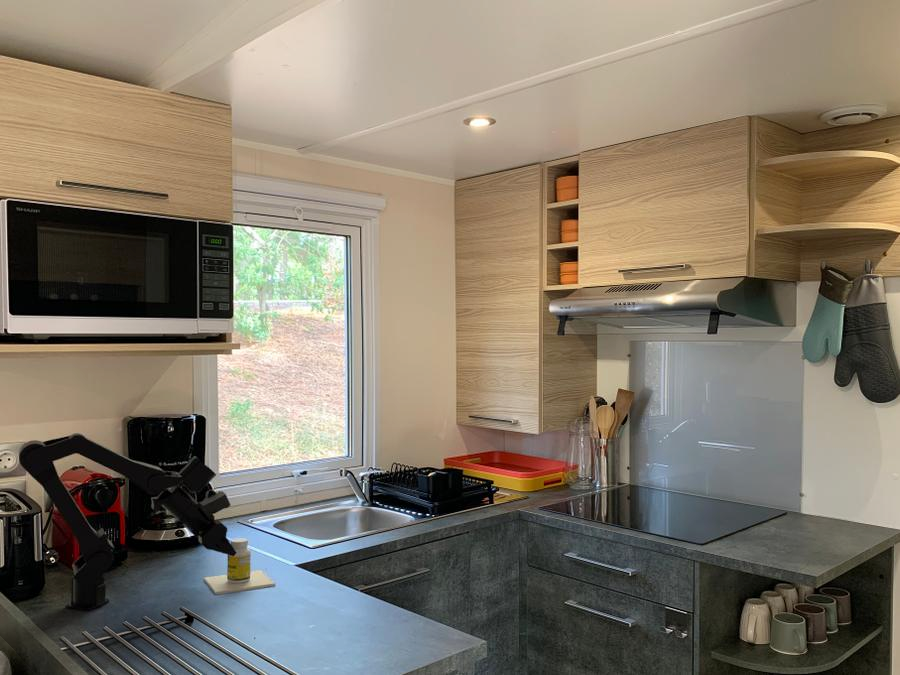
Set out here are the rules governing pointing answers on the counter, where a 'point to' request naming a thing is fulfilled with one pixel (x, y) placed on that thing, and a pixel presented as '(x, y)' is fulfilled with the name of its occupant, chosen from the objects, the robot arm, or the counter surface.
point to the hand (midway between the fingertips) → (230, 549)
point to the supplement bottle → (239, 562)
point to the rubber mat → (223, 586)
